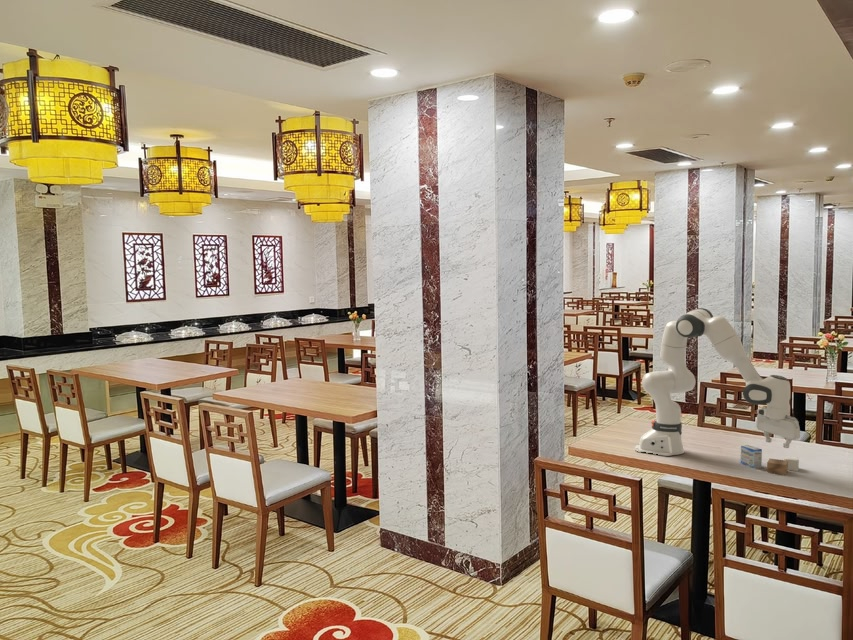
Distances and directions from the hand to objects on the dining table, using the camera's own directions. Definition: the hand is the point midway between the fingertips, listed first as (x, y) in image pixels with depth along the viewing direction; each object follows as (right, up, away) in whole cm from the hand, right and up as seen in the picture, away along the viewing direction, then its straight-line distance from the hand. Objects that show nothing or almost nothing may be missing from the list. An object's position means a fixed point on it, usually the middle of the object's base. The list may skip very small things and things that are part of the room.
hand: (777, 444), depth 286 cm
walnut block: (0, -12, 0) cm, 12 cm away
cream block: (+8, -12, +5) cm, 15 cm away
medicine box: (-6, -12, +10) cm, 17 cm away
